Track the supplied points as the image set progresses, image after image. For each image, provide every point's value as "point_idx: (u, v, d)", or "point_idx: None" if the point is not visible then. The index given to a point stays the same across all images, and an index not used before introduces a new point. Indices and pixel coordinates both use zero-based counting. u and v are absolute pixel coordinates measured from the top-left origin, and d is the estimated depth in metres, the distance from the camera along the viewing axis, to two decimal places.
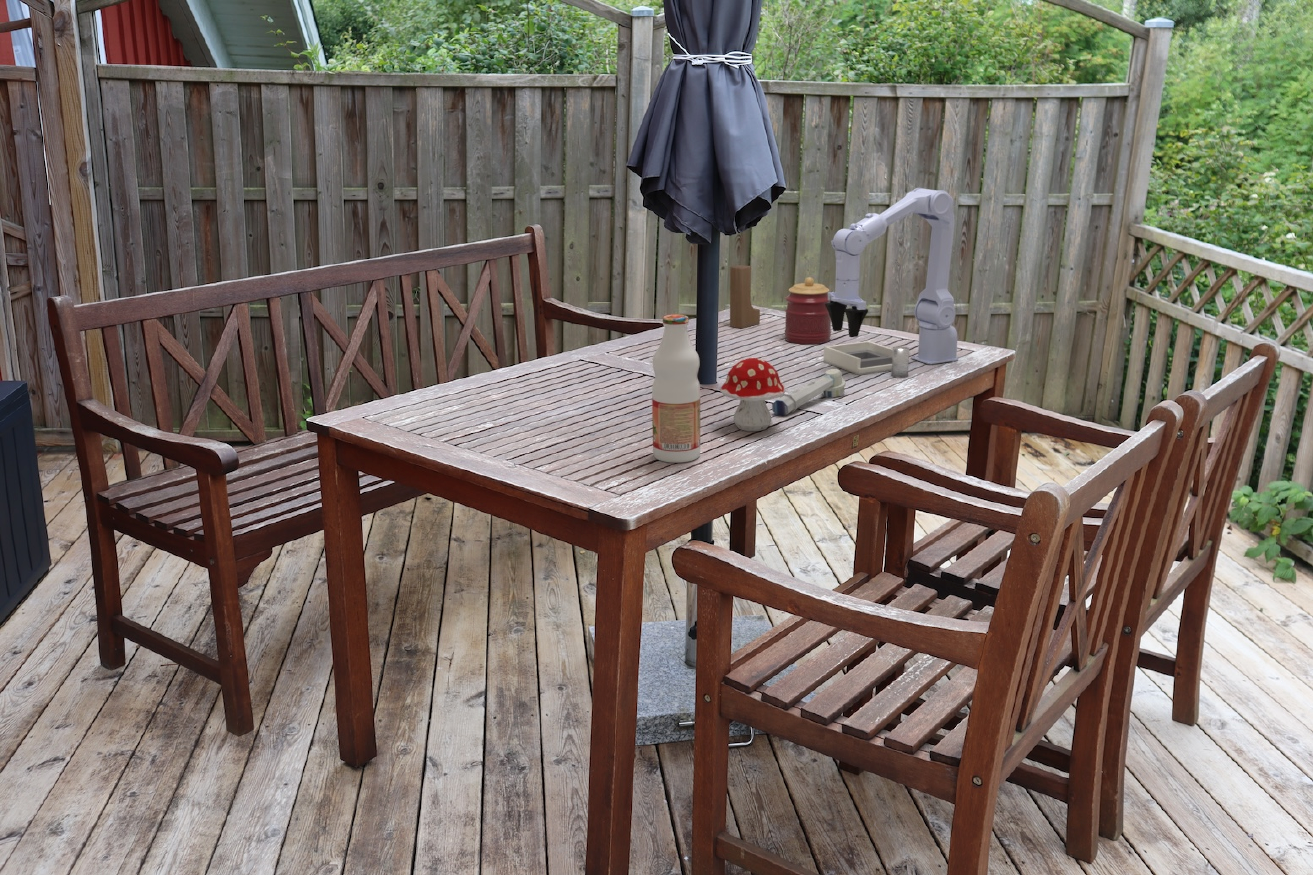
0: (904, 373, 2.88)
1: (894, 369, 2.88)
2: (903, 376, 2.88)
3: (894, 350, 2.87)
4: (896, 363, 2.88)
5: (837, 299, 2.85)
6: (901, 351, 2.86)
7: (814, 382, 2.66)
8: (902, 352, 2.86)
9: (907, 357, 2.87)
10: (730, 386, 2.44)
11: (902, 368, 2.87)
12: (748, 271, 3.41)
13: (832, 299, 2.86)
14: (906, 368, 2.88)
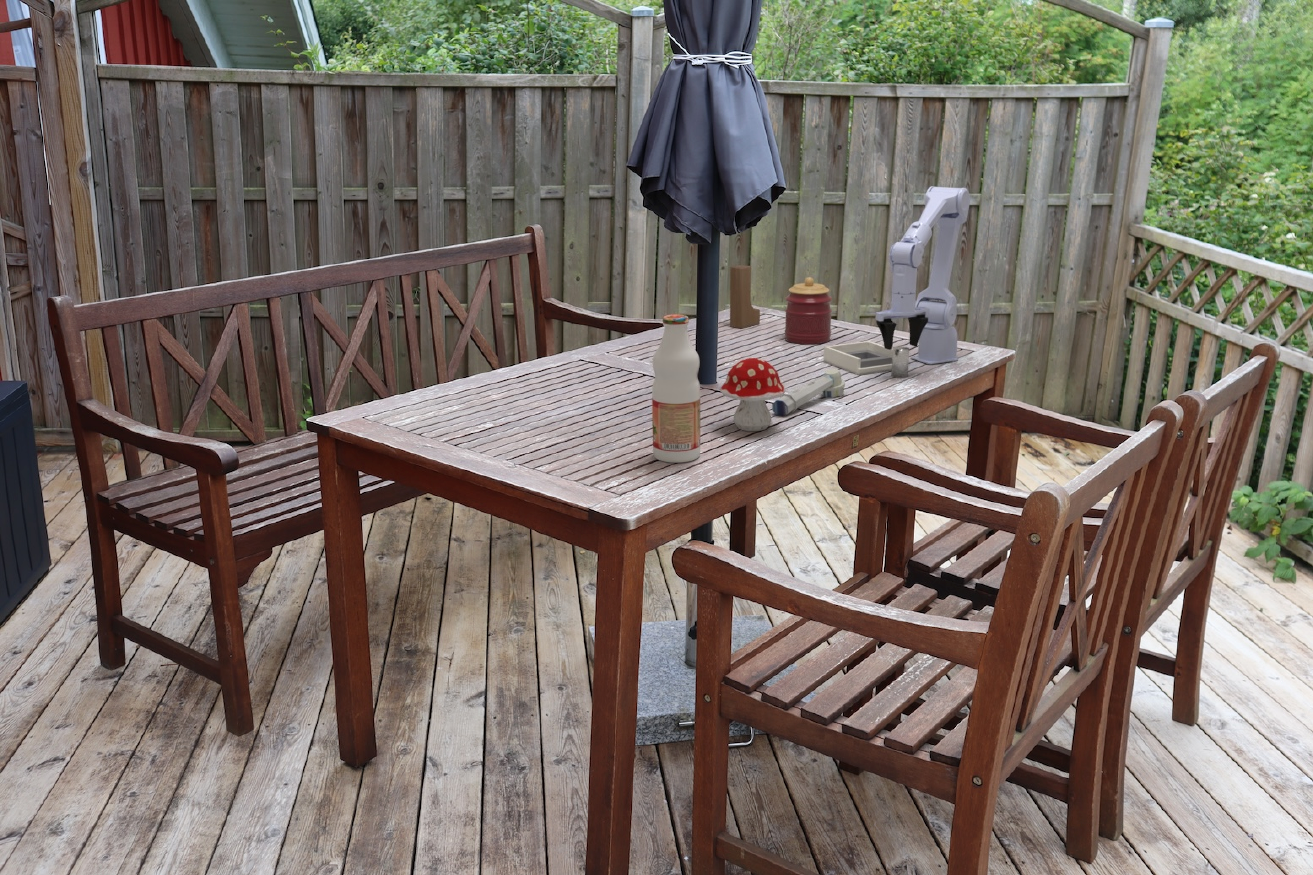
0: (904, 373, 2.88)
1: (894, 369, 2.88)
2: (903, 376, 2.88)
3: (894, 350, 2.87)
4: (896, 363, 2.88)
5: None
6: (901, 351, 2.86)
7: (814, 382, 2.66)
8: (902, 352, 2.86)
9: (907, 357, 2.87)
10: (730, 386, 2.44)
11: (902, 368, 2.87)
12: (748, 271, 3.41)
13: None
14: (906, 368, 2.88)
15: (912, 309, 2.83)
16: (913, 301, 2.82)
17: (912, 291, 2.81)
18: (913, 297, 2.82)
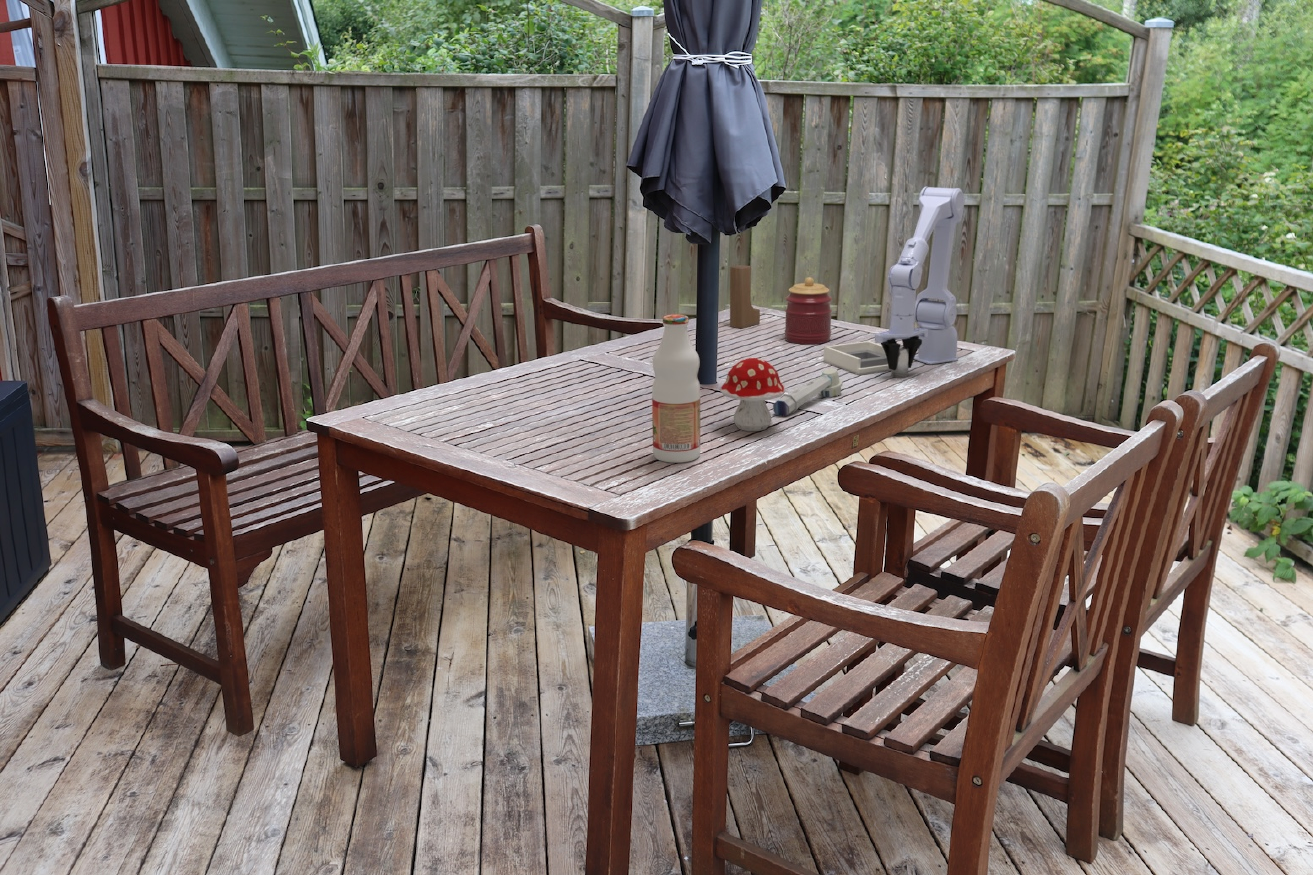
0: (904, 372, 2.88)
1: None
2: (903, 376, 2.88)
3: None
4: None
5: None
6: (901, 351, 2.86)
7: (813, 382, 2.67)
8: (902, 352, 2.86)
9: (907, 357, 2.87)
10: (730, 386, 2.44)
11: (902, 368, 2.87)
12: (748, 271, 3.41)
13: None
14: (906, 368, 2.88)
15: (911, 331, 2.84)
16: (912, 323, 2.84)
17: (911, 313, 2.83)
18: (912, 319, 2.84)
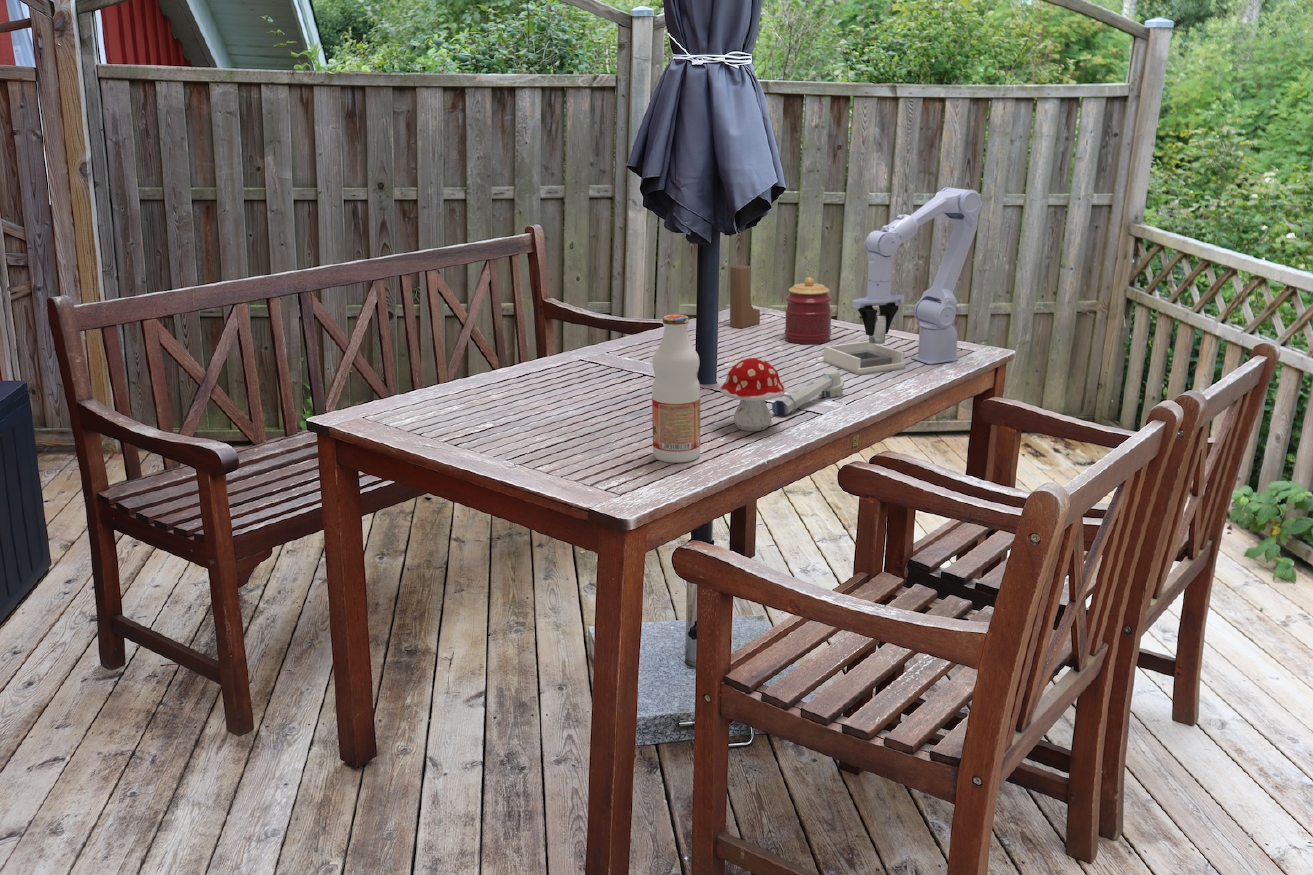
0: (882, 339, 2.93)
1: None
2: (880, 342, 2.93)
3: None
4: None
5: None
6: (879, 318, 2.91)
7: (813, 382, 2.66)
8: (879, 319, 2.91)
9: (884, 323, 2.92)
10: (730, 385, 2.44)
11: (880, 334, 2.92)
12: (748, 271, 3.41)
13: None
14: (883, 334, 2.93)
15: (887, 297, 2.89)
16: (888, 289, 2.89)
17: (882, 279, 2.87)
18: (889, 285, 2.89)
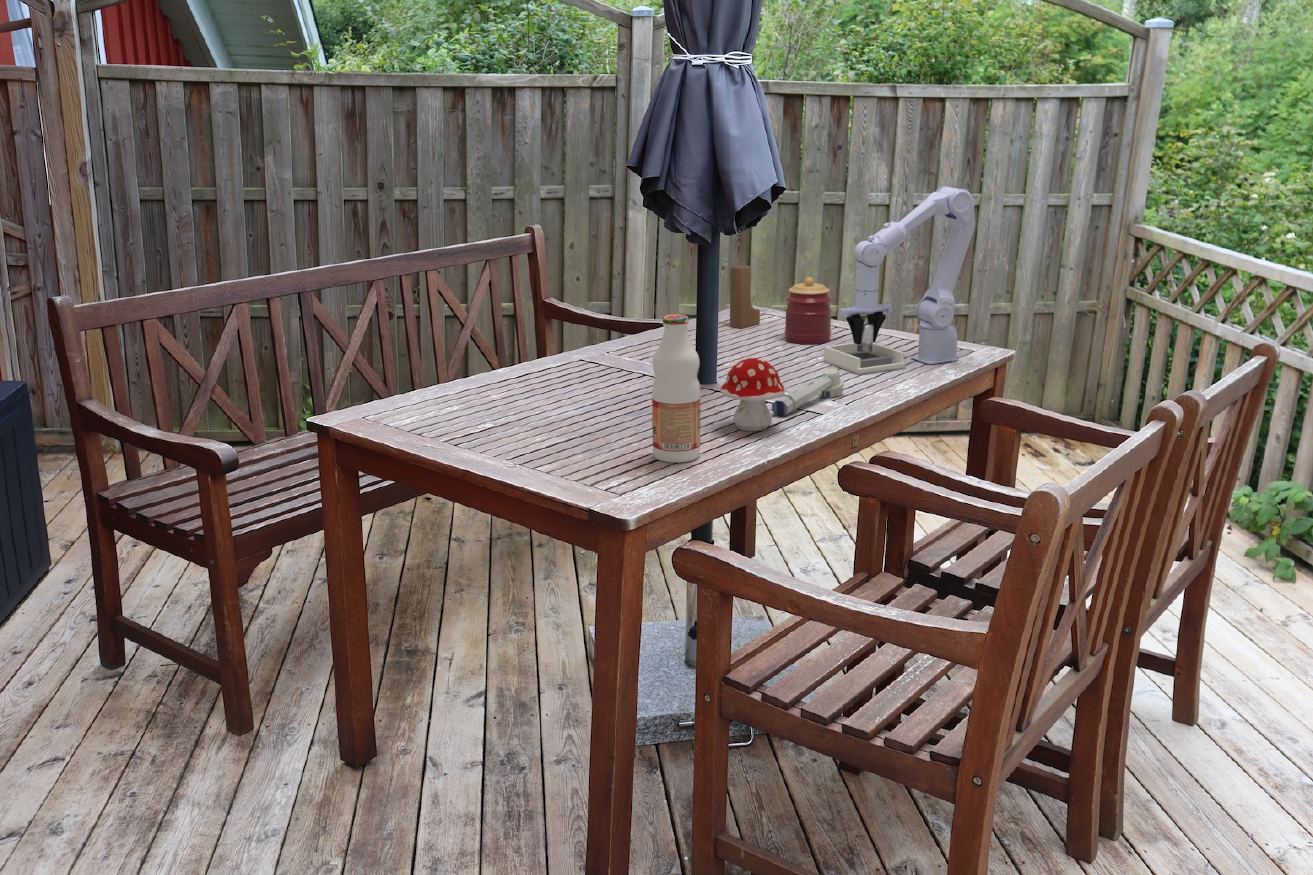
0: (869, 347, 2.97)
1: None
2: (868, 351, 2.97)
3: None
4: (861, 338, 2.97)
5: None
6: (866, 326, 2.95)
7: (813, 382, 2.66)
8: (867, 328, 2.95)
9: (872, 332, 2.96)
10: (730, 385, 2.44)
11: (867, 343, 2.97)
12: (748, 271, 3.41)
13: None
14: (871, 343, 2.97)
15: (875, 306, 2.94)
16: (876, 298, 2.93)
17: (867, 289, 2.92)
18: (876, 295, 2.93)
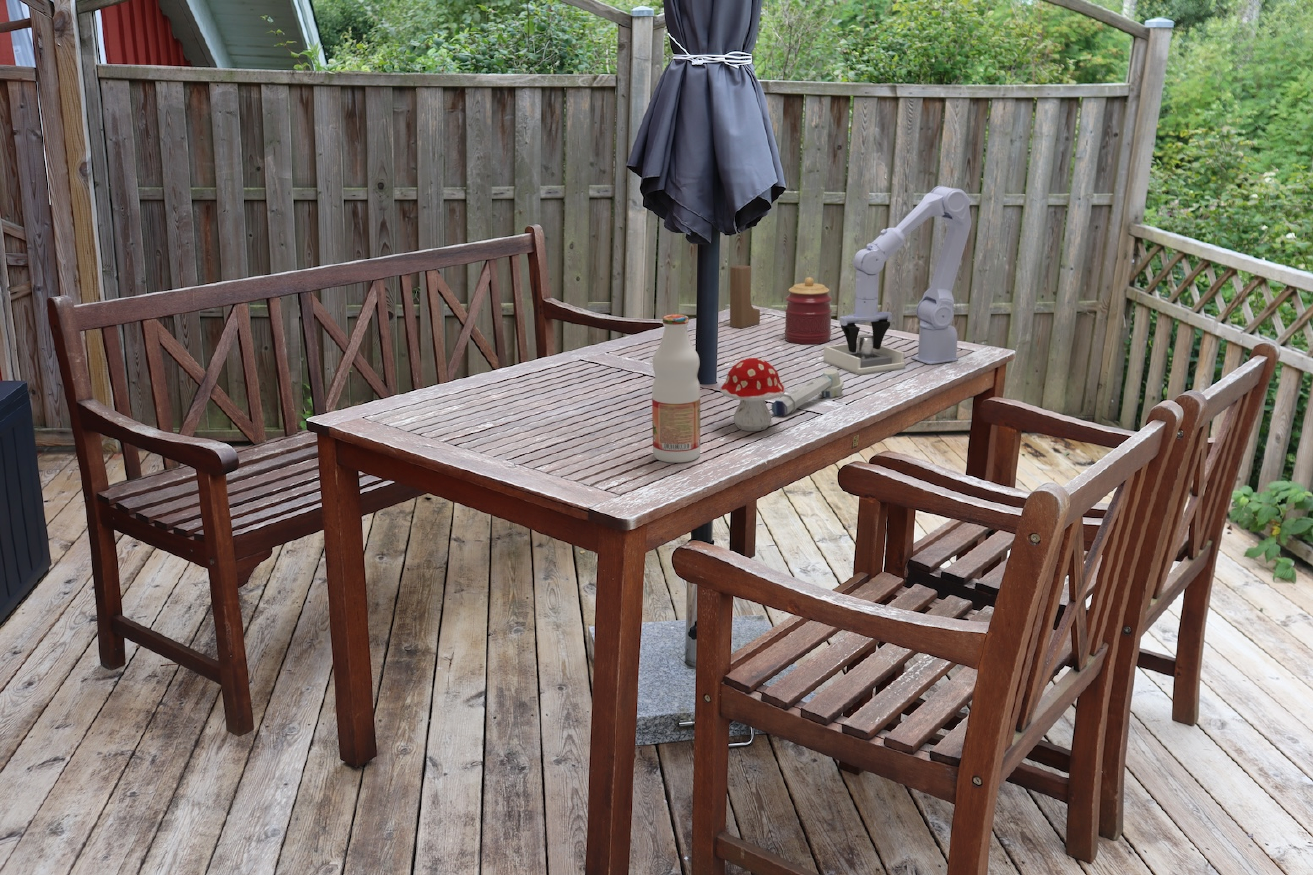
0: None
1: (859, 356, 2.99)
2: None
3: (859, 338, 2.97)
4: (861, 351, 2.98)
5: (855, 313, 2.99)
6: (866, 339, 2.96)
7: (813, 382, 2.66)
8: (867, 340, 2.97)
9: (872, 345, 2.98)
10: (730, 386, 2.44)
11: (867, 355, 2.98)
12: (748, 271, 3.41)
13: None
14: (870, 356, 2.98)
15: (874, 314, 2.94)
16: (875, 306, 2.94)
17: (867, 297, 2.92)
18: (876, 302, 2.94)
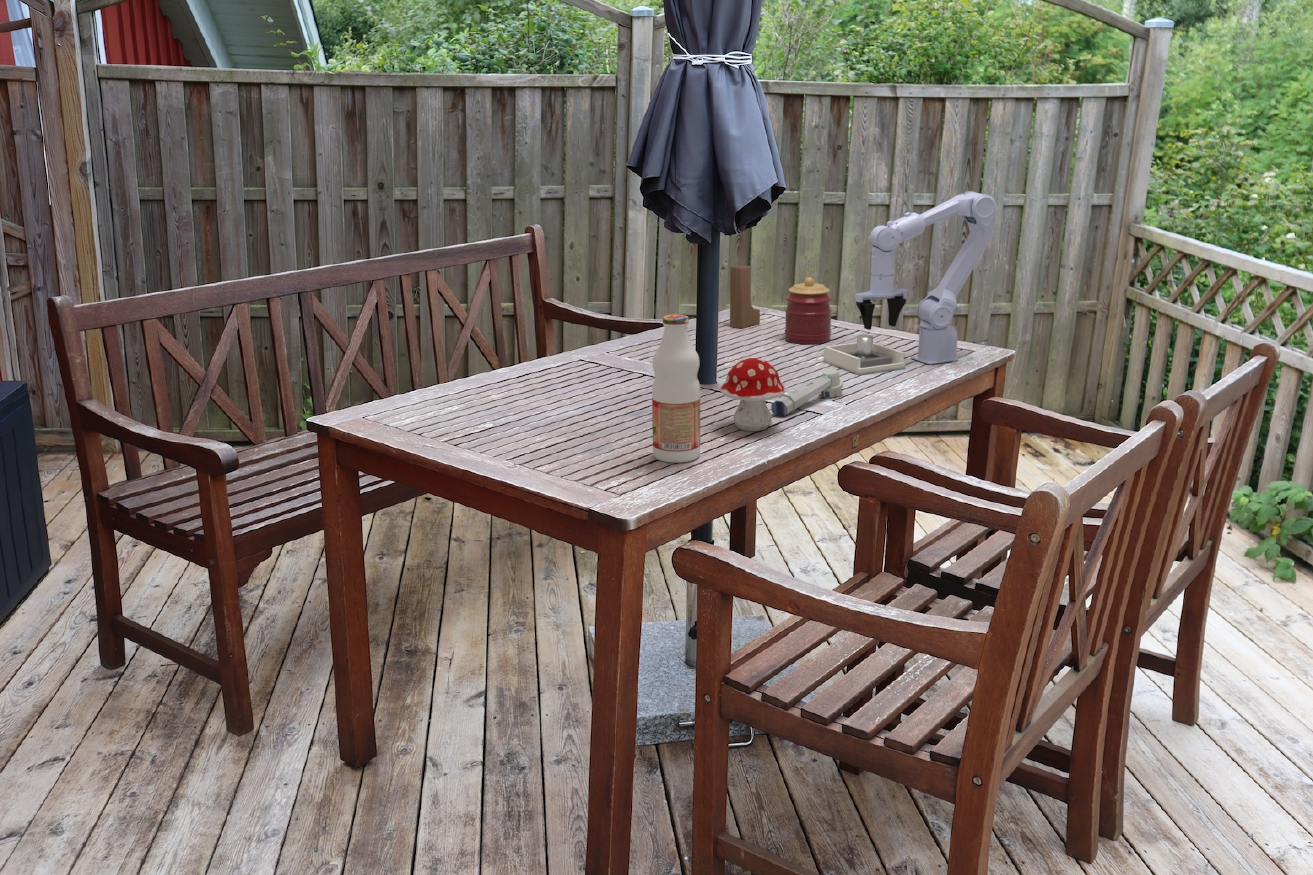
0: None
1: (858, 356, 2.99)
2: None
3: (859, 338, 2.97)
4: (860, 351, 2.98)
5: None
6: (865, 339, 2.96)
7: (812, 382, 2.66)
8: (866, 340, 2.97)
9: (871, 345, 2.98)
10: (730, 386, 2.44)
11: (867, 355, 2.98)
12: (748, 271, 3.41)
13: None
14: (870, 356, 2.98)
15: (890, 290, 2.95)
16: (891, 283, 2.94)
17: (882, 273, 2.93)
18: (891, 279, 2.94)
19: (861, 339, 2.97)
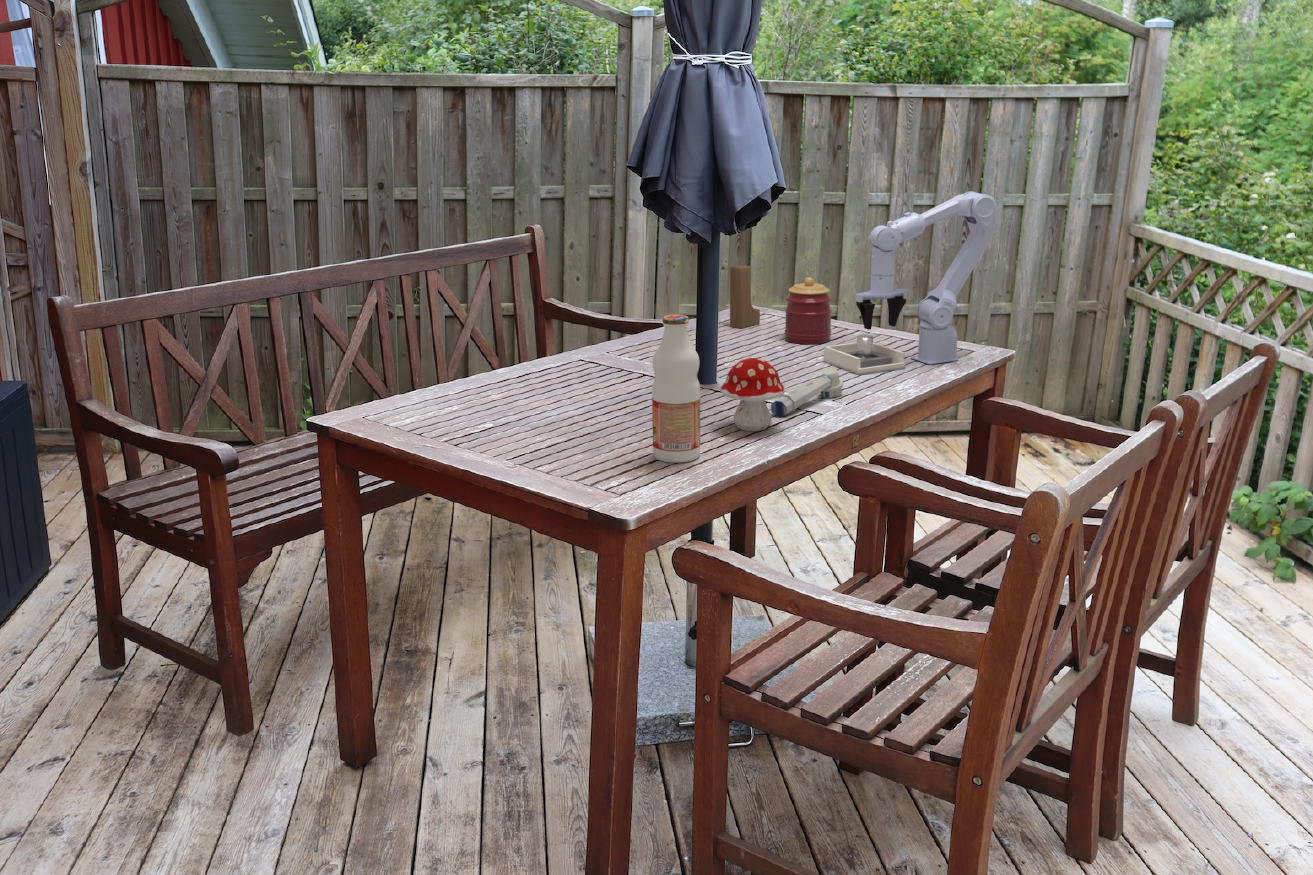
0: None
1: (858, 356, 2.99)
2: None
3: (859, 338, 2.97)
4: (860, 351, 2.98)
5: None
6: (865, 339, 2.96)
7: (812, 382, 2.66)
8: (866, 340, 2.97)
9: (871, 345, 2.98)
10: (730, 385, 2.44)
11: (867, 355, 2.98)
12: (748, 271, 3.41)
13: None
14: (870, 356, 2.98)
15: (890, 290, 2.95)
16: (891, 283, 2.94)
17: (882, 273, 2.93)
18: (891, 279, 2.94)
19: (861, 339, 2.97)
